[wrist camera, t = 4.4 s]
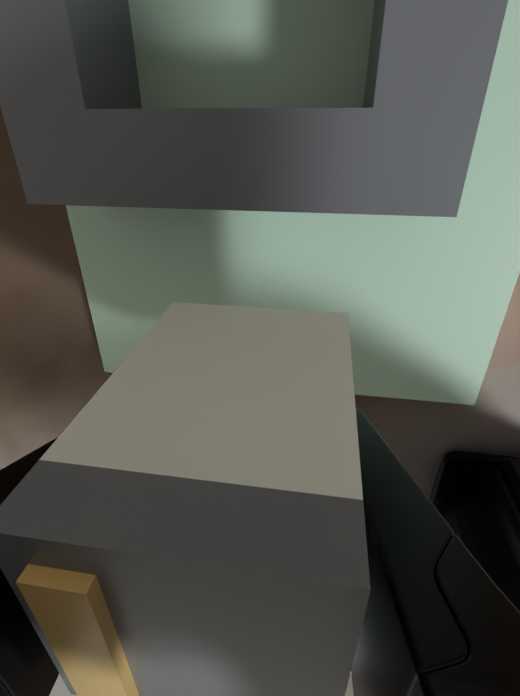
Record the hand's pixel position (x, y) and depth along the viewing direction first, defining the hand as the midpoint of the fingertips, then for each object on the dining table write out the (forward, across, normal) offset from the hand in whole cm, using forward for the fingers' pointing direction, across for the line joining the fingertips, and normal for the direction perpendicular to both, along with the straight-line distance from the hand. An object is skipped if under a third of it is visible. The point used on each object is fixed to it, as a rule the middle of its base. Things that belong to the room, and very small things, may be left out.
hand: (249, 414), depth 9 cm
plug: (+1, 0, 0) cm, 1 cm away
